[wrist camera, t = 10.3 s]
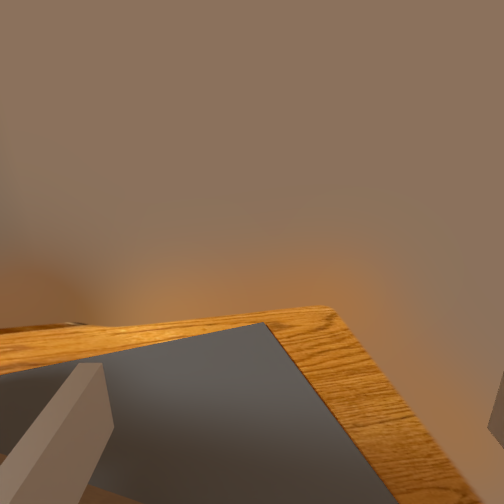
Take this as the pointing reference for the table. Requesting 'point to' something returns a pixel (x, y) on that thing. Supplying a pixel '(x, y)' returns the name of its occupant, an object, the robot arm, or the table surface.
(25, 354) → the table surface
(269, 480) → the mat
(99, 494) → the decorative block
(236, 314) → the table surface
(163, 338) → the table surface
